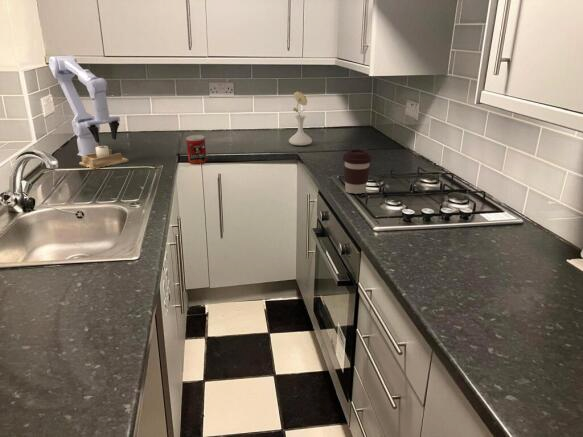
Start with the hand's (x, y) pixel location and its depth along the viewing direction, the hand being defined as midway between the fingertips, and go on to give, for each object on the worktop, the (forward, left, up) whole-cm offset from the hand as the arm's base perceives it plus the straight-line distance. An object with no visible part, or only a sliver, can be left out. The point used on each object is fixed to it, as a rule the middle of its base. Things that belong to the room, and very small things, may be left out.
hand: (106, 140), depth 201 cm
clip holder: (+1, -3, -9) cm, 9 cm away
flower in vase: (+45, +76, -9) cm, 89 cm away
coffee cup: (+103, +38, -9) cm, 110 cm away
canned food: (+31, +24, -9) cm, 40 cm away
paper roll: (+1, -3, -8) cm, 9 cm away
